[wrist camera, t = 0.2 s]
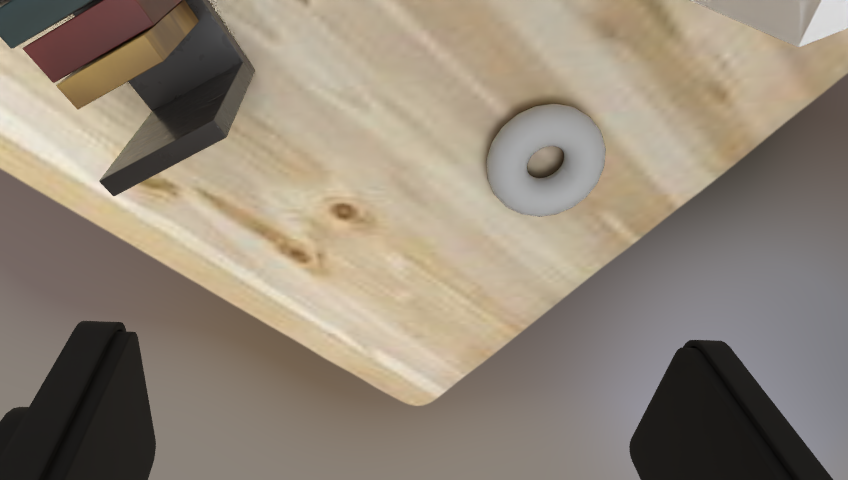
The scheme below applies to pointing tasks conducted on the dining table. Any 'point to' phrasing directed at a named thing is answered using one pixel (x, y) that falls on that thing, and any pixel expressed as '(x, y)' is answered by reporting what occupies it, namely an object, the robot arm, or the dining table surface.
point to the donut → (538, 132)
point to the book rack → (140, 70)
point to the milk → (786, 17)
